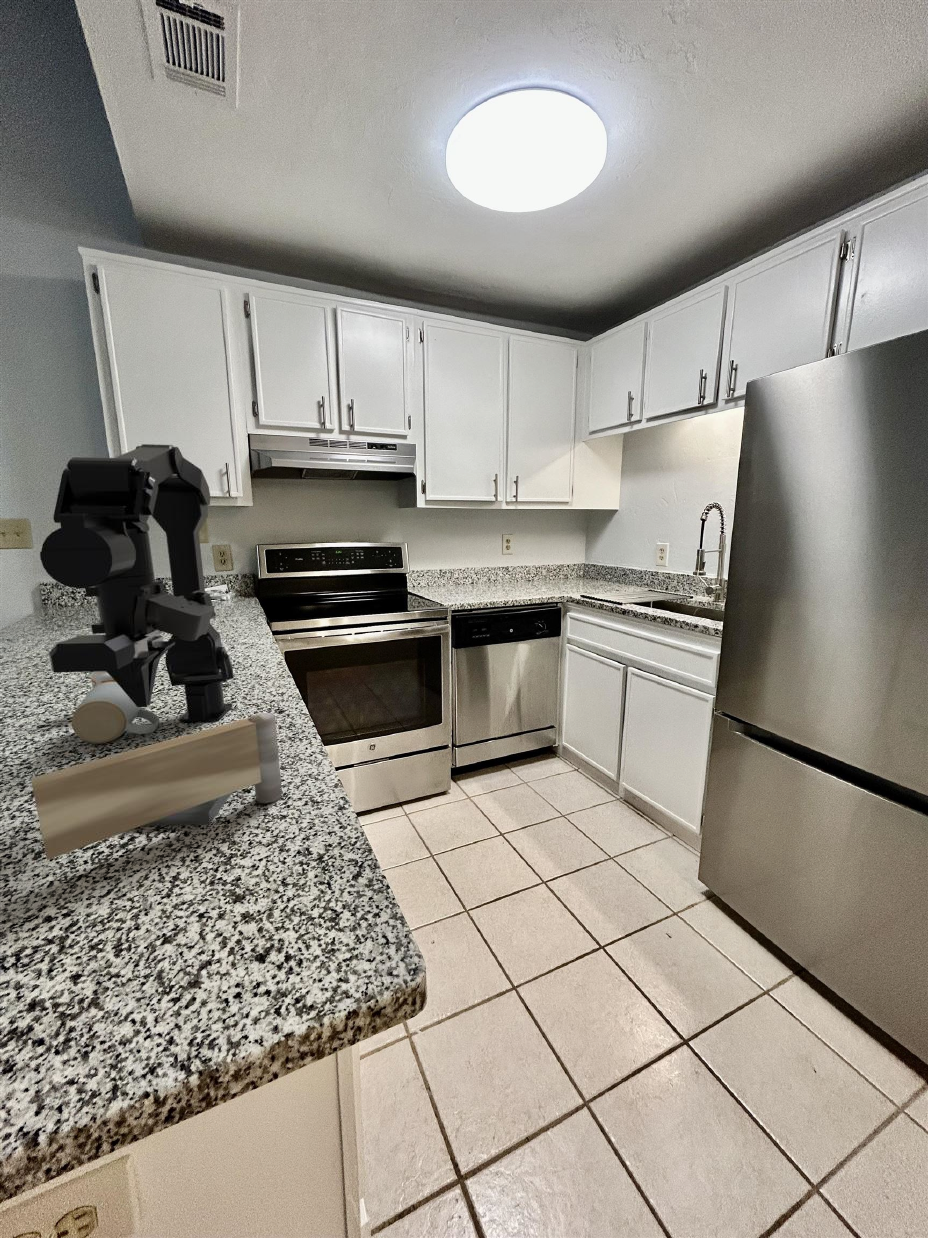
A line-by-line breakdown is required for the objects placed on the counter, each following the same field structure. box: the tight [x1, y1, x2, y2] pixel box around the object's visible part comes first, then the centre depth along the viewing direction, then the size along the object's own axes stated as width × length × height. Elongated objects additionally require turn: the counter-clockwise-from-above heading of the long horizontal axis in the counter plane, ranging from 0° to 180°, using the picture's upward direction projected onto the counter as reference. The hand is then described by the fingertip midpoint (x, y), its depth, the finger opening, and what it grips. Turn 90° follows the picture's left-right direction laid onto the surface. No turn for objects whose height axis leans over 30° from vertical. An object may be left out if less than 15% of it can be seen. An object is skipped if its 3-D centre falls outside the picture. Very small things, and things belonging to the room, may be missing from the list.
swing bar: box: [30, 712, 283, 861], centre depth 55 cm, size 3×22×10 cm, turn 133°
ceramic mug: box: [71, 682, 160, 744], centre depth 80 cm, size 11×8×8 cm
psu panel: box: [141, 792, 233, 827], centre depth 62 cm, size 12×16×2 cm
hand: (143, 706), depth 60 cm, fingers closed
